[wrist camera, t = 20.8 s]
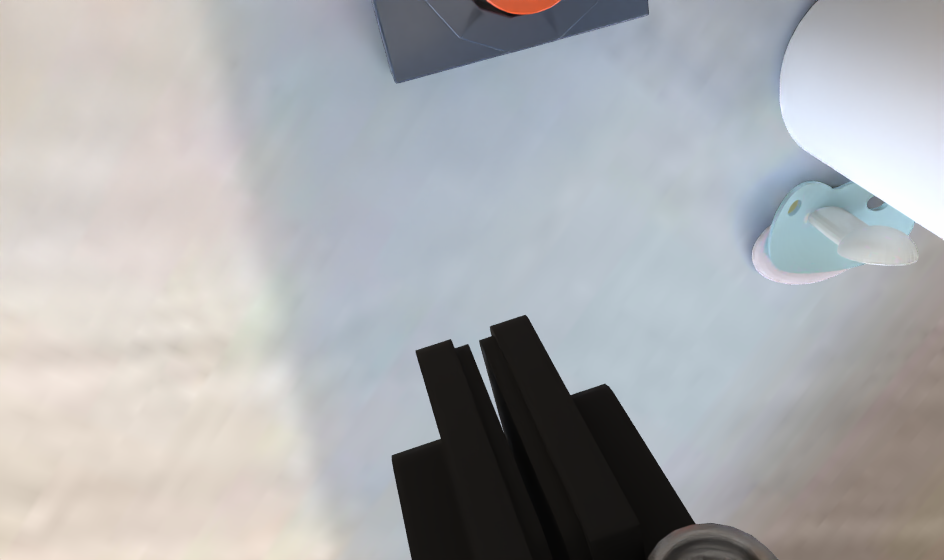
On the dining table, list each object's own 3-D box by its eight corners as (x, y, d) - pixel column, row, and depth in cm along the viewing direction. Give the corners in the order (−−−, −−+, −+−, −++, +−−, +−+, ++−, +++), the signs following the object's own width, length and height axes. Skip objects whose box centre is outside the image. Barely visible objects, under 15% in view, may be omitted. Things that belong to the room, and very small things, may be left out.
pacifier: (857, 271, 40) (895, 165, 37) (941, 342, 35) (993, 226, 32) (728, 282, 39) (756, 172, 36) (796, 358, 34) (835, 237, 30)
